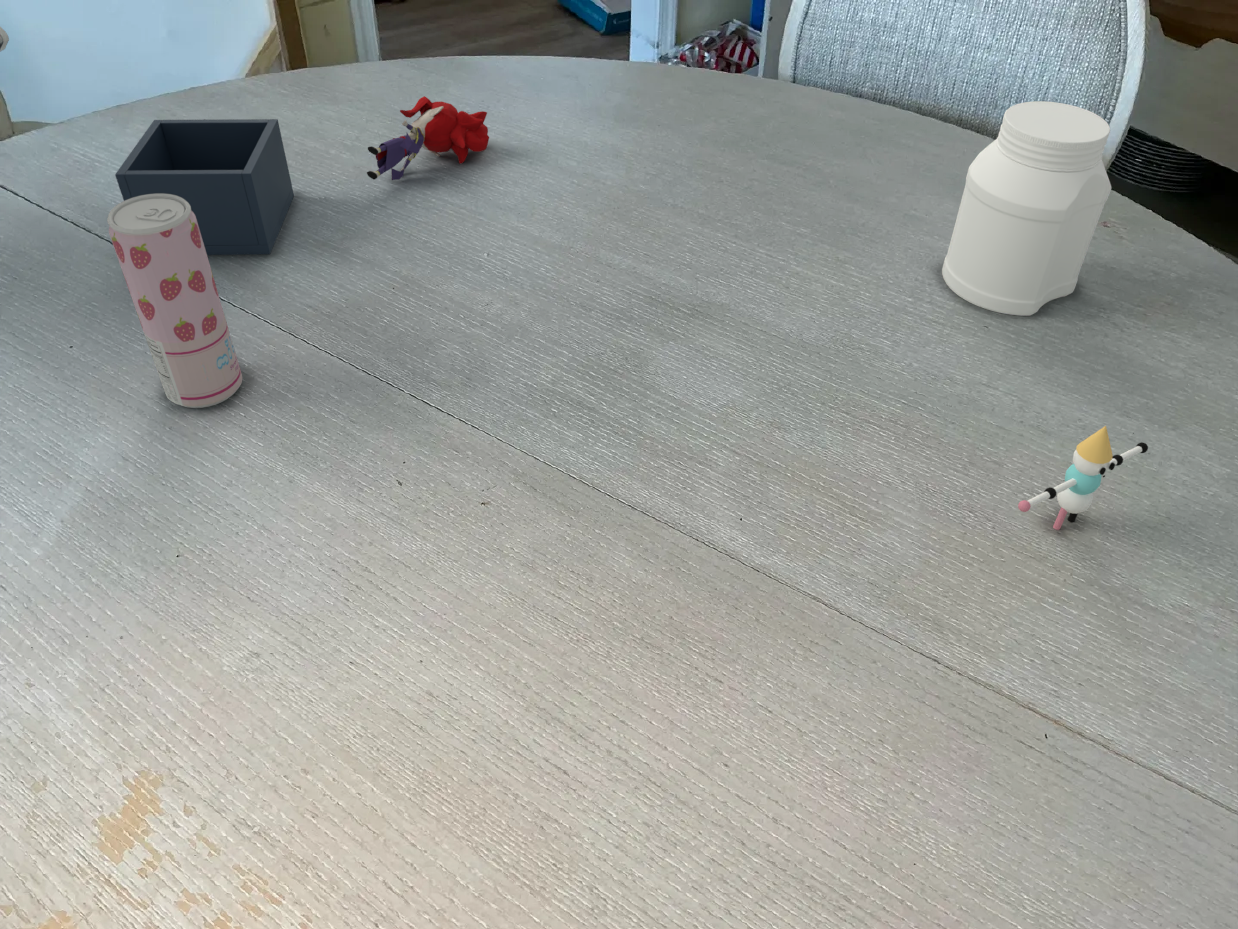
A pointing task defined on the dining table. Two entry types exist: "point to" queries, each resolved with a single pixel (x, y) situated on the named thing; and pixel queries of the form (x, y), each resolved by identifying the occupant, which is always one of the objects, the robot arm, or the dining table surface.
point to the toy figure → (1083, 476)
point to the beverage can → (175, 298)
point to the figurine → (432, 136)
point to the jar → (1029, 209)
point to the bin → (217, 178)
